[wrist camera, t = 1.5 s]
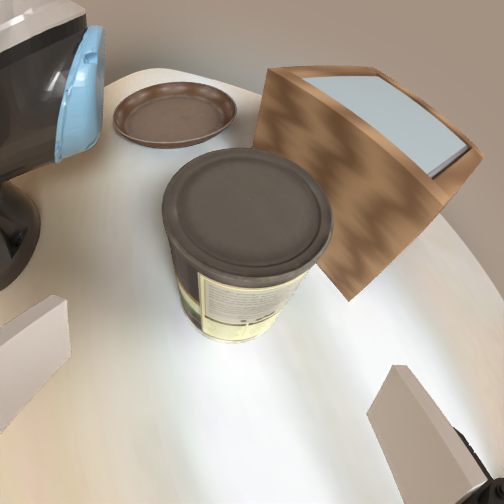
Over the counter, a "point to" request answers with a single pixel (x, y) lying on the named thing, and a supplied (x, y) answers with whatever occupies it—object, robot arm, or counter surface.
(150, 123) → the plant saucer
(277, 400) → the counter surface
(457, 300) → the counter surface
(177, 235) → the coffee can
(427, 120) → the lid
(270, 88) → the wooden stand
